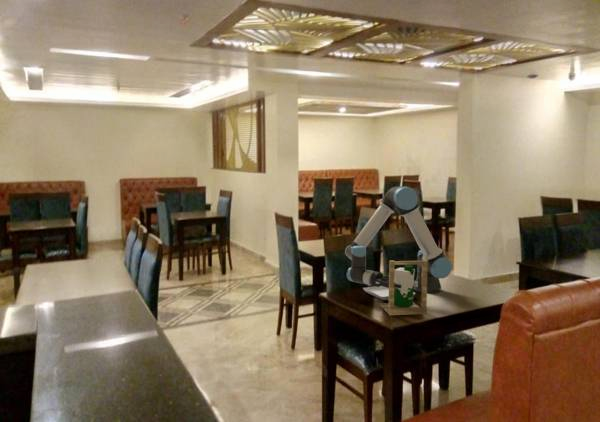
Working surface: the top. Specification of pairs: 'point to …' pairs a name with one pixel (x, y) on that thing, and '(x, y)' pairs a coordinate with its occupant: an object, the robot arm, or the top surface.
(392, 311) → the wooden frame stand
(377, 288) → the salad plate
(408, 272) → the fresh milk carton
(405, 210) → the robot arm
